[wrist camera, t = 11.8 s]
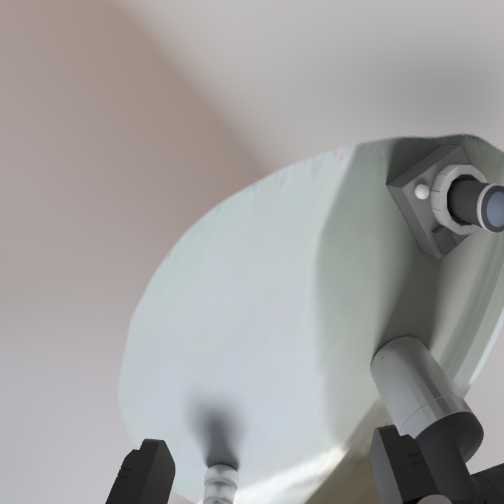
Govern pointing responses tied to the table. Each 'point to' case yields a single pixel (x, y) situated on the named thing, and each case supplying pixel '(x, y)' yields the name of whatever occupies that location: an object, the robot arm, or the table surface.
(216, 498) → the plastic bottle
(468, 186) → the lens
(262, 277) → the table surface
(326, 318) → the table surface
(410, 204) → the camera body
